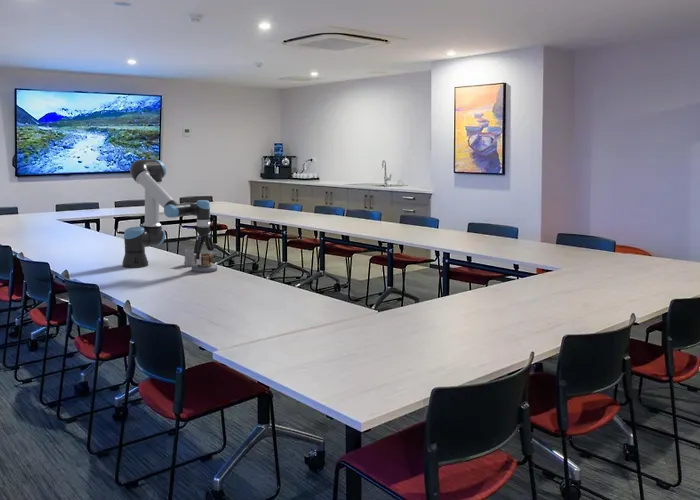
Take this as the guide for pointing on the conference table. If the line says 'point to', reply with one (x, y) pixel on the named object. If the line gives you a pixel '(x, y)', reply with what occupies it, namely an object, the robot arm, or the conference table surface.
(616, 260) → the conference table surface
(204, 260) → the collar
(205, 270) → the flange base
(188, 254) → the mug
